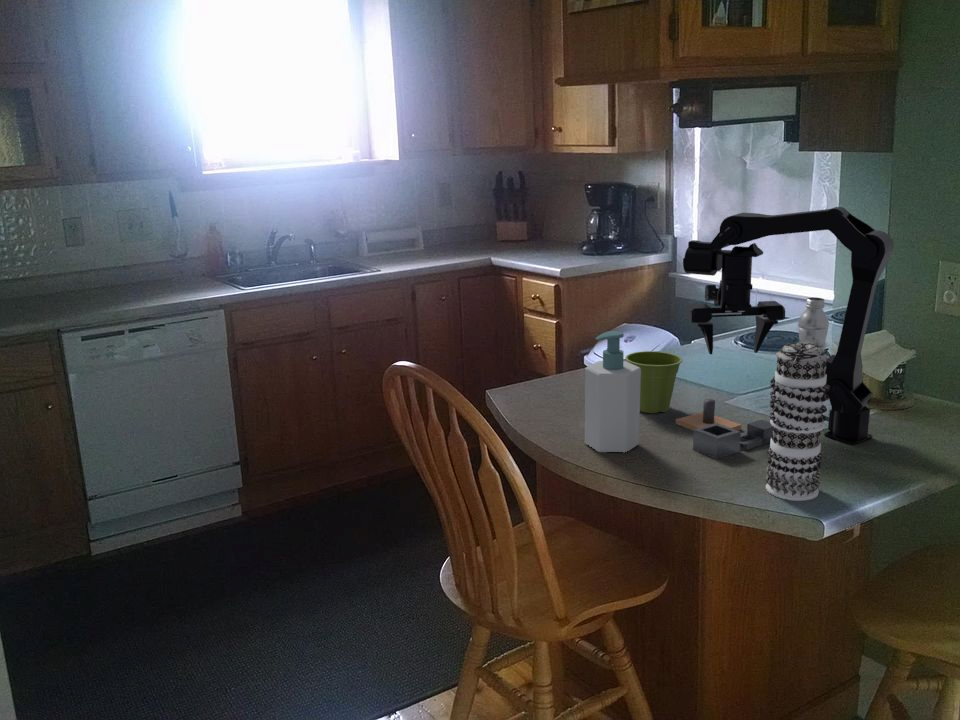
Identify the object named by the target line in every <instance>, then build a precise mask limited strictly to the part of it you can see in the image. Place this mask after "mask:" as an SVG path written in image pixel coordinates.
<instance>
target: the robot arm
mask: <svg viewBox="0 0 960 720" xmlns="http://www.w3.org/2000/svg"><path fill="white" fill-rule="evenodd" d="M719 225H720V226H719V232H717V234H716V235H715V237H714V238H713V239H712V241H700V240H695V239H693V240H689V241H688V245H687V246H688V247H687V248H686V250H685V254H684V257H682V258H683V259H682V267H683V270H684V272H685V274H689V275H700V276H701V275H702V276H715V275H716V274H717V273H718V272H720V271H721V279H720V280H719V287H717V286H716V284H706V285H704V286H705V287H704V300H705V301H706V302H712V301H713V306H714V307H711V306H710V305H708V304H707V303H688V304H687V306H686V307H685V318H686V319H687V320H688V321H689V322H690V323H694V324H695V325H696V326H697V327H699V328H700V331H701V332H702V336H703V338H704V342H705V345H706V347H707V348H706V349H707V350H708V354H709V355H713V350H714V324H713V323H712V322H711V320H712V319H713V318H718V317H719V318H722V317H723V318H724V317H728V318H729V317H743V316H744V317H751V316H753V317H755V332H754V340H753V352H754V354H757V353H758V352H759V351H760V348H761V346H762V345H763V342H765V341H764V340H765V338H766V337H767V335H768V334H769V332H770V331H771V330H772V328H773V327H774V325H778V324H779V321H783V320H784V321H785V319H786V309H785V307H784V306H783V305H782V304H781V303H779V302H777V301H776V300H766V301H765V300H764V301H761V300H760V301H758V302H757V303H756V305H752V304H751V293H752V292H751V290H753V284H752V267H753V258H758V257H760V256H763V255H764V251H763V250H762V249H761V248H759V247H758V245H757V243H755V242H753V243H752V244H749V246H741V244H745V243H749V242H752V241H755V240H759V239H762V238H764V237H765V238H766V237H769V236H778V235H779V236H780V235H789V234H790V235H791V234H798V233H807V232H820V231H827V230H828V231H829V232H830V233H832V234H833V235H834V236H835V237H836V239H837V240H838V241H839V242H840V243H841V245H843V246H844V247H845V248H847V249H848V250H849V251H850V252H851V253H850V255H851V256H850V258H851V259H850V262H851V263H850V268H851V276H852V281H851V282H852V283H851V288H850V292H849V296H848V301H847V304H846V305H847V306H846V311H845V314H844V320H843V324H842V328H841V332H840V337H839V341H838V346H837V351H836V353H835V354H832V355H829V358H828V359H827V361H826V375H827V379H826V384H827V385H828V386H829V387H830V390H829V391H827V392H825V394H827V395H828V397H829V399H828V401H829V404H830V405H831V408H830V410H829V413H828V414H829V415H828V423H827V424H828V425H827V431H825V432H824V433H823V435H824V436H825V437H828V438H832V439H834V440H837V441H840V442H843V443H846V444H849V445H856V444H858V443H861V442H864V441H867V440H871V439H873V435H872V434H871V433H869V426H870V425H869V424H870V417H871V415H870V414H871V408H869V407H868V406H867V404H869V403H870V401H871V399H872V397H873V396H874V393H873V392H872V390H871V389H870V388H869V387H868V386H867V385H866V384H865V383H864V381H863V361H862V360H863V359H862V350H863V344H864V341H865V336H866V333H867V330H868V329H867V328H868V324H869V320H870V315H871V310H872V308H873V303H874V298H875V295H876V294H875V293H876V289H877V284H878V282H879V279H880V278H881V276H882V274H883V272H884V270H885V268H886V266H887V264H888V262H889V260H890V257H891V255H892V253H893V250H894V247H895V246H894V240H893V239H892V238H891V236H890V235H889V234H888V233H886V232H885V231H883V230H876V229H875V228H873V227H872V226H871V225H869V224H868V223H866V222H865V221H863V220H862V219H860V218H858V217H856V216H855V215H853V214H852V213H850V211H848V210H847V209H846V208H844V207H842V206H835V207H832V208H827V209H817V210H808V211H801V212H789V213H781V214H764V213H763V214H762V213H757V212H756V213H754V212H740V213H737V214H736V213H735V214H733V215H730V216H727V217H725V218H724V219H723V220H722V222H721V224H719ZM739 245H740V246H739ZM730 246H733V248H732V249H724V248H728V247H730Z"/></svg>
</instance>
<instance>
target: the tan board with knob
mask: <svg viewBox="0 0 960 720" xmlns="http://www.w3.org/2000/svg"><path fill="white" fill-rule="evenodd" d="M702 410H703V411H702V412H701V411H700V412H698V413H694V414H690V415H687V416H684V417H679V418H675V425H677V424H678V425H677V426H680V425H681V427H682V426H684V427H683V428H685V427H687V428H686V429H688V428H689V429H688V430H690V429H692V430H691V431H693V430H694V429H697V428H700V427H704V426H707V425H711V424H714V423H718V424H721V425H724V426H726V427H729V428H732V429H735V430H737V431H741V430H742V424H741V423H738V422H735V421H731V420H728V419H726V418H723V417H720V416H718V415H715V411H716V400H715V399H712V398H706V399H705V398H704V399H703V408H702Z"/></svg>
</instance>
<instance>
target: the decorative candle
mask: <svg viewBox="0 0 960 720" xmlns="http://www.w3.org/2000/svg"><path fill="white" fill-rule="evenodd" d="M775 355H776V358H777V361H776V370H775V371H774V376H773V378H772V379H770V381H769V382H770V384H769V385H770V388H771V389H772V390H771V392H770V393H769V394H770V395H769V396H770V399H771V400H770V401H769V406H770V407H769V408H771V410H772V411H770V412H769V416H770V417H769V418H770V421H769V422H770V423H771V425H772V426H773V429H772V438H771V440H770V442H769V443H770V444H769V447H768V449H767V454H768V455H769V456H768V457H767V461H766V462H767V463H768V465H767V467H766V470H765V471H766V477H765V482H766V485H765V490H766V489H767V490H766V492H767V491H768V492H769V493H768V492H767V493H768V494H770V493H771V494H772V496H773V495H774V497H775V496H776V498H778V497H779V498H778V499H781V498H782V499H781V500H786V499H787V501H793V502H794V501H795V502H796V501H797V502H798V501H799V502H803V501H810V500H813V499H815V498H817V497H818V496H819V493H820V491H819V489H818V488H819V487H820V485H819V484H820V479H821V472H820V471H819V469H821V467H822V462H821V460H822V459H823V458H822V457H823V456H822V455H823V454H822V452H821V448H822V442H821V432H822V430H823V429H824V428H825V423H824V422H825V421H826V419H827V417H826V415H825V414H824V413H826V412H827V411H828V408H827V407H826V405H824V404H823V402H826V401H829V397H828V395H827V394H825V392H827V391H829V390H830V387H829V386H828V385H827V384H826V379H827V375H826V361H827V359H828V358H829V357H830V355H828V354H826V353H825V351H824V352H823V350H822V349H821V348H820V347H819V346H817V345H815V344H810V343H802V342H799V341H798V342H788V343H786V344H785V345H783V347H782V348H781V350H778V351H776V353H775ZM771 494H770V495H771Z"/></svg>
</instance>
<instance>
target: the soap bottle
mask: <svg viewBox="0 0 960 720" xmlns="http://www.w3.org/2000/svg"><path fill="white" fill-rule="evenodd" d="M623 337H624V333H623V332H621V331H617V330H612V331H611V330H609V331H605V332H603V333H601V334H599V335H597V336H596V337H595V340H596V341H597V342H600V341H604V340H607V344H606V345H607V346H606V347H607V348H606V349H603V351H602V360H598V361H596V362H594V363H592V364H590V365H588V366H586V367H585V368H584V369H585V371H584V372H585V375H584V376H585V377H584V385H585V386H584V444H585V445H587V446H588V445H589V446H588V447H590V448H591V447H592V448H591V449H592V450H593V449H595V451H596V452H597V453H607V452H623V453H622V454H626V453H627V451H628V452H629V451H631V450H632V449H634V448H635V447H636V446H638V445H639V444H640V417H641V416H640V414H641V411H640V384H641V369H640V367H637V366H635V365H633V364H631V363H629V362H628V361H627V360H624V355H625V354H624V350H621V349H620V342H621V340H620V339H621V338H623ZM625 452H626V453H625Z"/></svg>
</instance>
